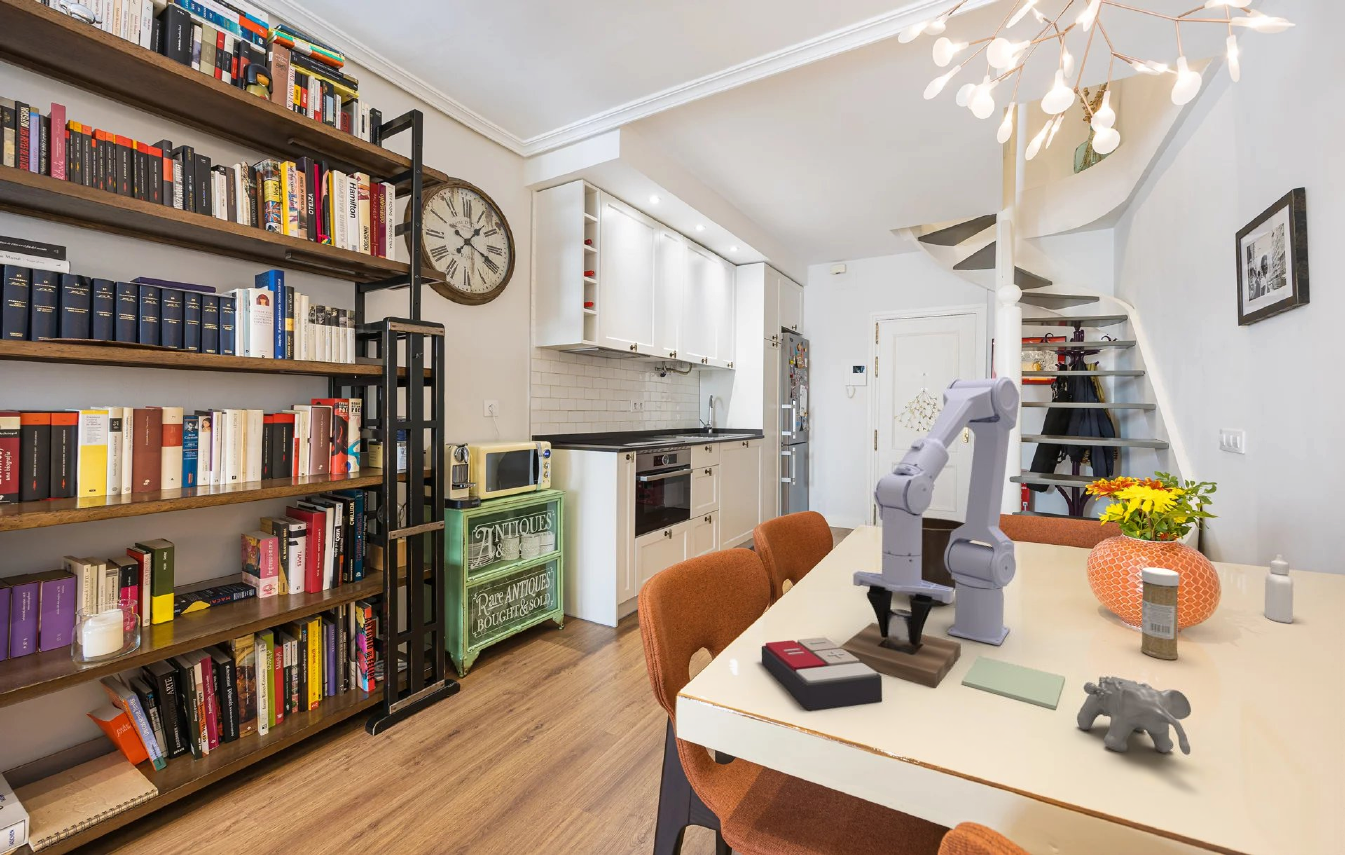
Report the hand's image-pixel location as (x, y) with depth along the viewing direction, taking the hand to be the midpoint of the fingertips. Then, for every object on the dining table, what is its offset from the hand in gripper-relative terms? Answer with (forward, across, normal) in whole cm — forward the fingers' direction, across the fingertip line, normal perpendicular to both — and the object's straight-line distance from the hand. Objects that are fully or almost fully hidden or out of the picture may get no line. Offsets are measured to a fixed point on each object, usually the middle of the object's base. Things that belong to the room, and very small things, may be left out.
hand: (900, 639), depth 89 cm
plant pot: (+3, -5, +33) cm, 34 cm away
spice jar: (+3, +31, +28) cm, 42 cm away
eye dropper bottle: (+3, +49, +64) cm, 81 cm away
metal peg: (+3, 0, 0) cm, 3 cm away
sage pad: (+3, +15, +2) cm, 15 cm away
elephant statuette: (+3, +29, -8) cm, 30 cm away
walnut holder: (+3, 0, 0) cm, 3 cm away
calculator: (+3, -6, -15) cm, 17 cm away
